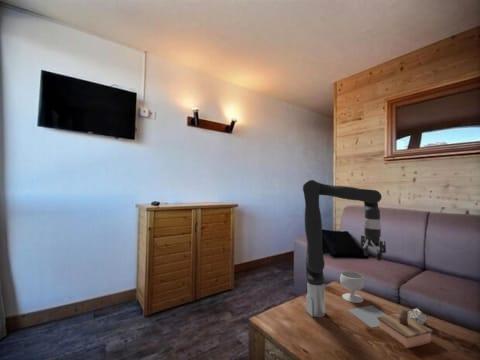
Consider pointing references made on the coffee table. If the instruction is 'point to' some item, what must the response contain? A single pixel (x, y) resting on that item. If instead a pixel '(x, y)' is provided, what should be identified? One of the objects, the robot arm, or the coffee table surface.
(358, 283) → the chalice
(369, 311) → the mat
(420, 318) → the game die
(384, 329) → the pink square tray
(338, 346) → the coffee table surface
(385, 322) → the lid
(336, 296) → the coffee table surface
